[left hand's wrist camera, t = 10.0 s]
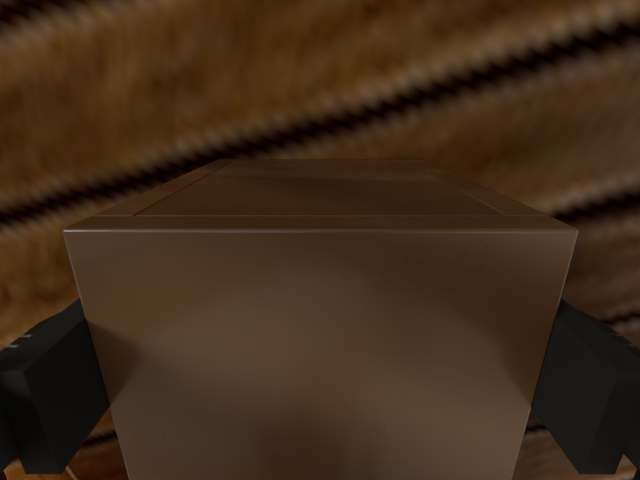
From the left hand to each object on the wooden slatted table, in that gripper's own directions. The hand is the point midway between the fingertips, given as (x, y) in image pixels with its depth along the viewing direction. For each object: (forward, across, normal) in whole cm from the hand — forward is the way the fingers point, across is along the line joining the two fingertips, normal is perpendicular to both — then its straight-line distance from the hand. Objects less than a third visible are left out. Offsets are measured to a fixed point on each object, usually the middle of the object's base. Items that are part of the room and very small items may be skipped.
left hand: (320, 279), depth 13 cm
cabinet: (+7, 0, -5) cm, 9 cm away
